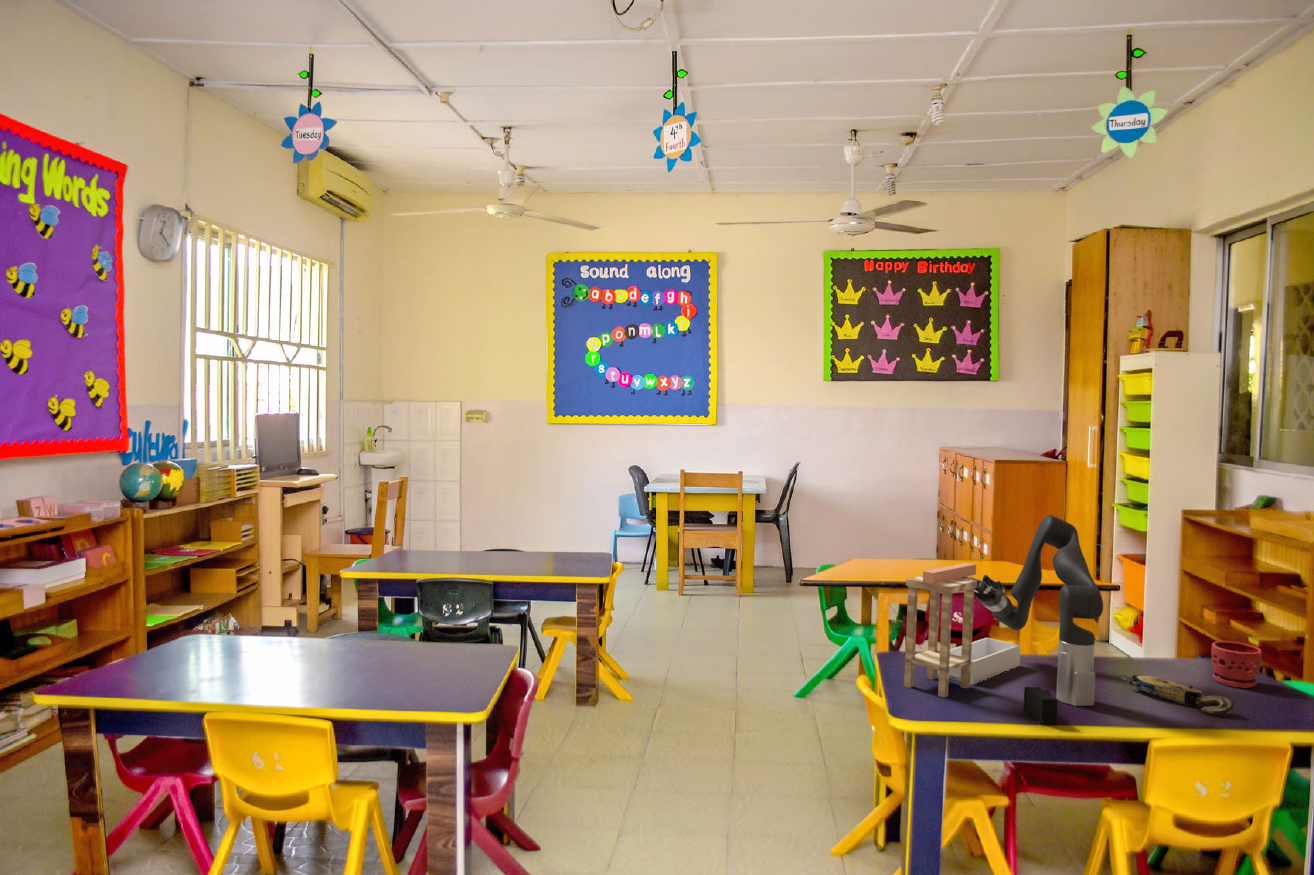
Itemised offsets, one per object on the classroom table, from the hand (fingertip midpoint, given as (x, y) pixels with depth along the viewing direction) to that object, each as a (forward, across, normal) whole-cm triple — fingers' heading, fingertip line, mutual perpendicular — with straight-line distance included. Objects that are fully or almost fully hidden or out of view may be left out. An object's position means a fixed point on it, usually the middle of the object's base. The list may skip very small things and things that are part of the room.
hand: (971, 575), depth 273 cm
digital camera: (+1, +32, +38) cm, 49 cm away
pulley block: (-40, +51, +14) cm, 67 cm away
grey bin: (-23, 0, +23) cm, 33 cm away
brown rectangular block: (+12, 0, +6) cm, 13 cm away
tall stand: (0, 0, +36) cm, 36 cm away
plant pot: (-70, +57, -4) cm, 90 cm away
